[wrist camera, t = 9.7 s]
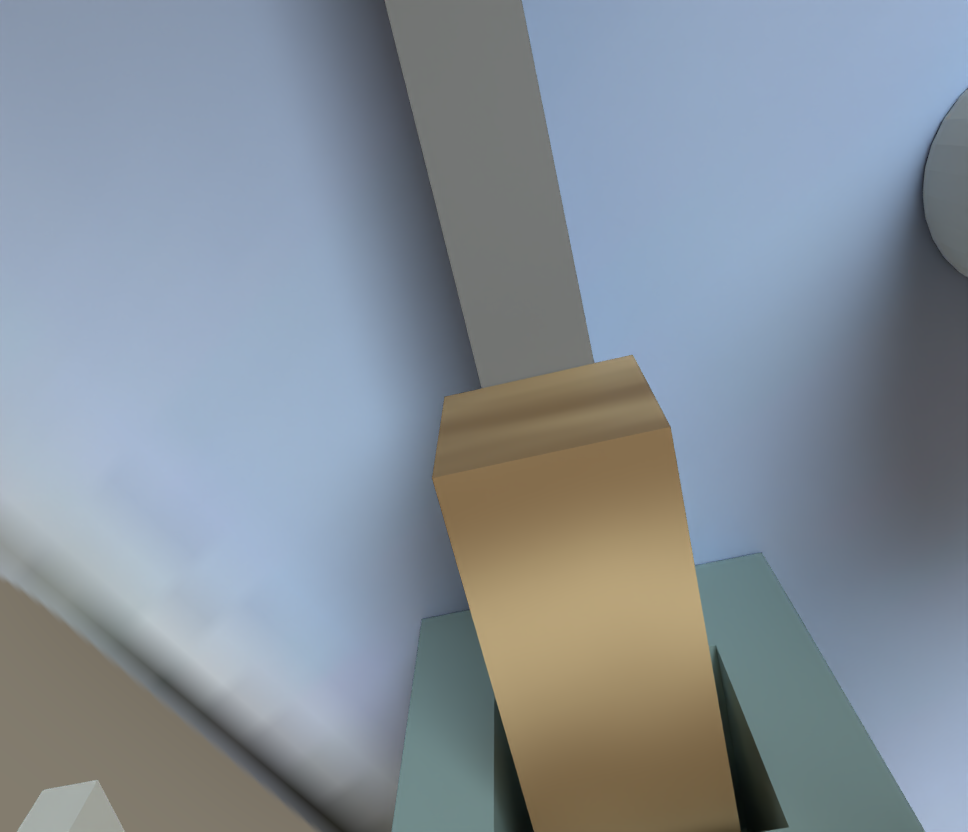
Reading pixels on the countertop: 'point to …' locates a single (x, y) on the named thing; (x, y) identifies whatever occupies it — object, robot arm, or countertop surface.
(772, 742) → the bore block
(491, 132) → the rail
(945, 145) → the coffee cup
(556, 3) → the countertop surface
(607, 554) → the oak peg
